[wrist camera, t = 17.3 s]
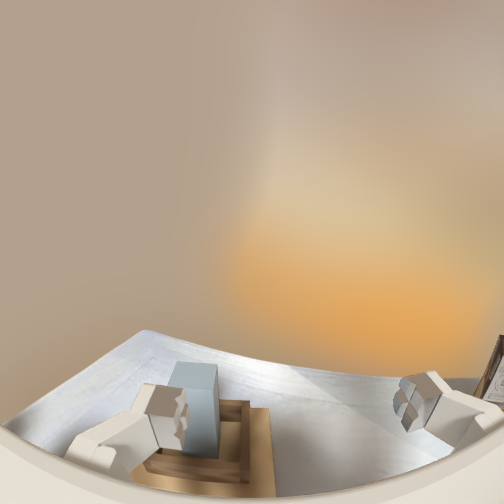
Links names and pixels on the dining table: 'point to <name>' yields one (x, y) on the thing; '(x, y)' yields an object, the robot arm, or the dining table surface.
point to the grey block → (200, 408)
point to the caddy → (220, 459)
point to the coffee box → (493, 377)
